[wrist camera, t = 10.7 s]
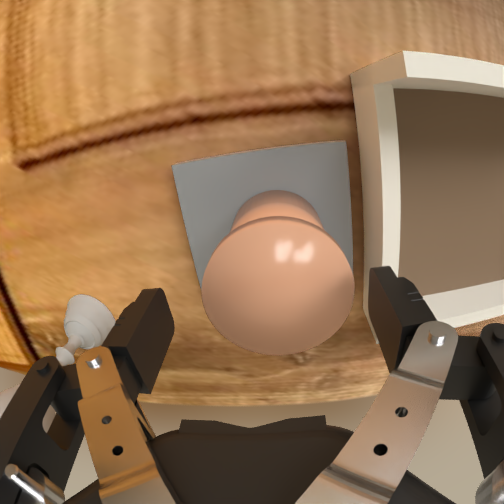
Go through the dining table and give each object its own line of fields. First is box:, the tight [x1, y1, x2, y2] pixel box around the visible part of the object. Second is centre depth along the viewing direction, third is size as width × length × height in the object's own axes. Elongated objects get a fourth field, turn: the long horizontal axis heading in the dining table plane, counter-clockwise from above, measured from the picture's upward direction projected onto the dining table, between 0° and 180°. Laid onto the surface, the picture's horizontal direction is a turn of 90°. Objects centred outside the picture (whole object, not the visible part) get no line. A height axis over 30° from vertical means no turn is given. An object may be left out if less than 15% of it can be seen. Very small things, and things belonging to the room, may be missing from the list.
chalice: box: [0, 294, 116, 433], centre depth 16 cm, size 7×7×18 cm
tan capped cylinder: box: [201, 190, 355, 355], centre depth 16 cm, size 6×6×7 cm
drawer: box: [350, 51, 504, 344], centre depth 14 cm, size 16×16×8 cm
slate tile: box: [172, 140, 353, 288], centre depth 19 cm, size 10×10×1 cm
